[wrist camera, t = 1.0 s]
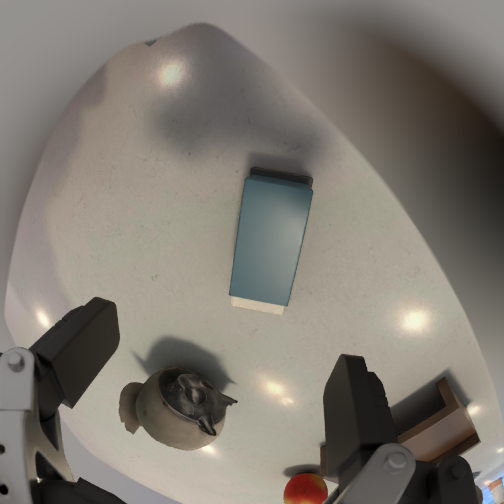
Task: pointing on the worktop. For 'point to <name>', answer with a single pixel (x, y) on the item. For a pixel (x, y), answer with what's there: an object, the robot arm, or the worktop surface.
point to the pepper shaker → (497, 491)
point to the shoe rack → (434, 433)
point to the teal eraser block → (269, 239)
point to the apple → (305, 489)
